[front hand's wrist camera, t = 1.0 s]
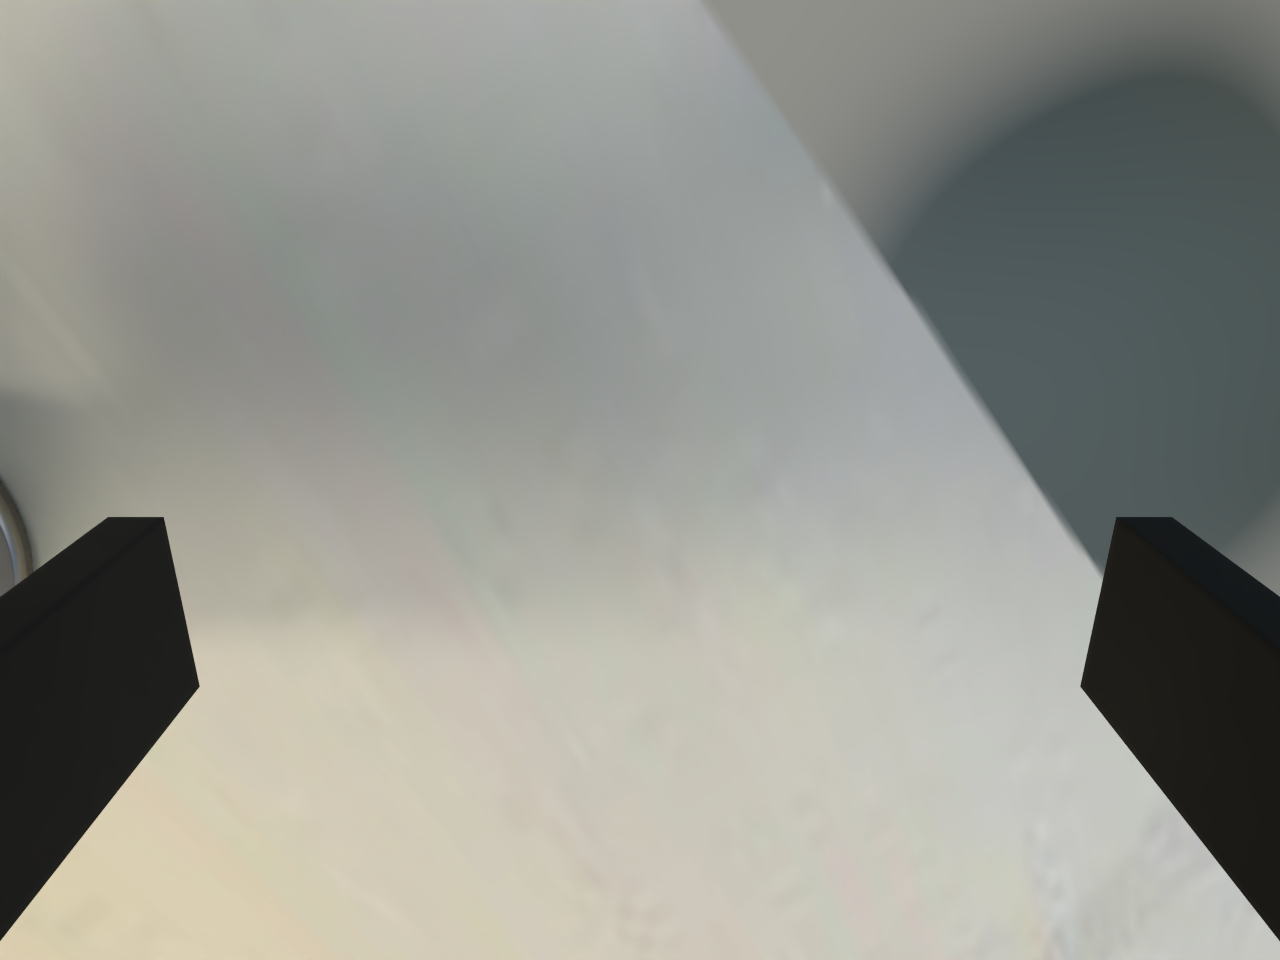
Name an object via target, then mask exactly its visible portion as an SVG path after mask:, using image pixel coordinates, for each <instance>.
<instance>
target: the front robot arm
mask: <svg viewBox="0 0 1280 960" xmlns="http://www.w3.org/2000/svg"><path fill="white" fill-rule="evenodd" d="M199 687H200V686H199V681H198V677H197V672H196V667H195V662H194V658H193V653H192V648H191V644H190V639H189V634H188V629H187V625H186V620H185V615H184V611H183V606H182V601H181V597H180V592H179V587H178V582H177V578H176V573H175V568H174V564H173V559H172V554H171V549H170V545H169V540H168V535H167V531H166V526H165V521H164V517H108V518H106V519H105V520H104V521H102V522H101V523H100V524H98V525H97V526H95V527H94V528H93V529H91V530H90V531H89V532H87V533H86V534H85V535H83V536H82V537H81V538H79V539H78V540H76V541H75V542H74V543H72V544H71V545H70V546H68V547H67V548H66V549H64V550H63V551H62V552H60V553H59V554H58V555H56V556H55V557H53V558H52V559H51V560H49V561H48V562H47V563H45V564H44V565H43V566H41V567H40V568H39V569H37V570H36V571H35V572H33V569H32V556H31V550H30V545H29V541H28V537H27V533H26V530H25V528H24V525H23V522H22V519H21V517H20V515H19V513H18V511H17V509H16V506H15V504H14V503H13V501H12V499H11V497H10V496H9V494H8V492H7V491H6V489H5V488H4V486H3V485H2V483H1V482H0V941H1V939H2V938H3V937H4V936H5V934H6V933H7V932H8V930H9V929H10V928H11V927H12V925H13V924H14V923H15V921H16V920H17V919H18V918H19V916H20V915H21V914H22V913H23V911H24V910H25V909H26V907H27V906H28V905H29V904H30V902H31V901H32V900H33V898H34V897H35V896H36V895H37V893H38V892H39V891H40V890H41V888H42V887H43V886H44V884H45V883H46V882H47V881H48V879H49V878H50V877H51V876H52V874H53V873H54V872H55V870H56V869H57V868H58V867H59V865H60V864H61V863H62V861H63V860H64V859H65V858H66V856H67V855H68V854H69V853H70V851H71V850H72V849H73V847H74V846H75V845H76V844H77V842H78V841H79V840H80V838H81V837H82V836H83V835H84V833H85V832H86V831H87V830H88V828H89V827H90V826H91V824H92V823H93V822H94V821H95V819H96V818H97V817H98V816H99V814H100V813H101V812H102V810H103V809H104V808H105V807H106V805H107V804H108V803H109V801H110V800H111V799H112V798H113V796H114V795H115V794H116V793H117V791H118V790H119V789H120V787H121V786H122V785H123V784H124V782H125V781H126V780H127V778H128V777H129V776H130V775H131V773H132V772H133V771H134V770H135V768H136V767H137V766H138V764H139V763H140V762H141V761H142V759H143V758H144V757H145V756H146V754H147V753H148V752H149V750H150V749H151V748H152V747H153V745H154V744H155V743H156V741H157V740H158V739H159V738H160V736H161V735H162V734H163V733H164V731H165V730H166V729H167V727H168V726H169V725H170V724H171V722H172V721H173V720H174V719H175V717H176V716H177V715H178V713H179V712H180V711H181V710H182V708H183V707H184V706H185V704H186V703H187V702H188V701H189V699H190V698H191V697H192V696H193V694H194V693H195V692H196V690H197V689H198V688H199ZM1080 687H1081V688H1082V689H1083V690H1084V692H1085V693H1086V694H1087V696H1088V697H1089V698H1090V699H1091V701H1092V702H1093V703H1094V704H1095V706H1096V707H1097V708H1098V710H1099V711H1100V712H1101V713H1102V715H1103V716H1104V717H1105V719H1106V720H1107V721H1108V722H1109V724H1110V725H1111V726H1112V727H1113V729H1114V730H1115V731H1116V733H1117V734H1118V735H1119V736H1120V738H1121V739H1122V740H1123V741H1124V743H1125V744H1126V745H1127V747H1128V748H1129V749H1130V750H1131V752H1132V753H1133V754H1134V756H1135V757H1136V758H1137V759H1138V761H1139V762H1140V763H1141V764H1142V766H1143V767H1144V768H1145V770H1146V771H1147V772H1148V773H1149V775H1150V776H1151V777H1152V779H1153V780H1154V781H1155V782H1156V784H1157V785H1158V786H1159V787H1160V789H1161V790H1162V791H1163V793H1164V794H1165V795H1166V796H1167V798H1168V799H1169V800H1170V801H1171V803H1172V804H1173V805H1174V807H1175V808H1176V809H1177V810H1178V812H1179V813H1180V814H1181V816H1182V817H1183V818H1184V819H1185V821H1186V822H1187V823H1188V824H1189V826H1190V827H1191V828H1192V830H1193V831H1194V832H1195V833H1196V835H1197V836H1198V837H1199V838H1200V840H1201V841H1202V842H1203V844H1204V845H1205V846H1206V847H1207V849H1208V850H1209V851H1210V853H1211V854H1212V855H1213V856H1214V858H1215V859H1216V860H1217V861H1218V863H1219V864H1220V865H1221V867H1222V868H1223V869H1224V870H1225V872H1226V873H1227V874H1228V876H1229V877H1230V878H1231V879H1232V881H1233V882H1234V883H1235V884H1236V886H1237V887H1238V888H1239V890H1240V891H1241V892H1242V893H1243V895H1244V896H1245V897H1246V898H1247V900H1248V901H1249V902H1250V904H1251V905H1252V906H1253V907H1254V909H1255V910H1256V911H1257V913H1258V914H1259V915H1260V916H1261V918H1262V919H1263V920H1264V921H1265V923H1266V924H1267V925H1268V927H1269V928H1270V929H1271V930H1272V932H1273V933H1274V934H1275V936H1276V937H1277V938H1278V939H1279V941H1280V597H1279V596H1278V595H1277V594H1275V593H1274V592H1273V591H1271V590H1270V589H1268V588H1267V587H1266V586H1264V585H1263V584H1262V583H1260V582H1259V581H1258V580H1256V579H1255V578H1253V577H1252V576H1251V575H1249V574H1248V573H1247V572H1245V571H1244V570H1243V569H1241V568H1240V567H1239V566H1237V565H1236V564H1235V563H1233V562H1232V561H1231V560H1229V559H1228V558H1227V557H1225V556H1224V555H1222V554H1221V553H1220V552H1218V551H1217V550H1216V549H1214V548H1213V547H1212V546H1210V545H1209V544H1208V543H1206V542H1205V541H1203V540H1202V539H1201V538H1199V537H1198V536H1197V535H1195V534H1194V533H1193V532H1191V531H1190V530H1189V529H1187V528H1186V527H1185V526H1183V525H1182V524H1180V523H1179V522H1178V521H1176V520H1175V519H1174V518H1172V517H1116V521H1115V526H1114V531H1113V535H1112V540H1111V545H1110V549H1109V554H1108V559H1107V564H1106V568H1105V573H1104V578H1103V582H1102V587H1101V592H1100V597H1099V601H1098V606H1097V611H1096V615H1095V620H1094V625H1093V629H1092V634H1091V639H1090V644H1089V648H1088V653H1087V658H1086V662H1085V667H1084V672H1083V677H1082V681H1081V686H1080Z"/></svg>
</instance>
